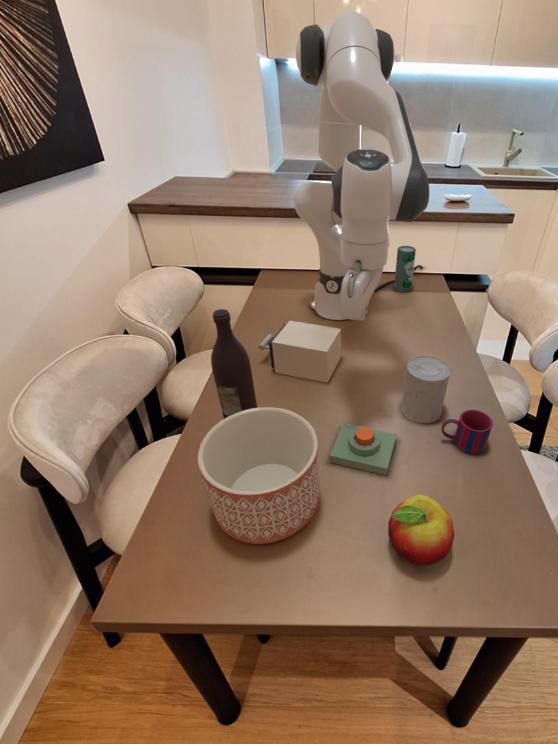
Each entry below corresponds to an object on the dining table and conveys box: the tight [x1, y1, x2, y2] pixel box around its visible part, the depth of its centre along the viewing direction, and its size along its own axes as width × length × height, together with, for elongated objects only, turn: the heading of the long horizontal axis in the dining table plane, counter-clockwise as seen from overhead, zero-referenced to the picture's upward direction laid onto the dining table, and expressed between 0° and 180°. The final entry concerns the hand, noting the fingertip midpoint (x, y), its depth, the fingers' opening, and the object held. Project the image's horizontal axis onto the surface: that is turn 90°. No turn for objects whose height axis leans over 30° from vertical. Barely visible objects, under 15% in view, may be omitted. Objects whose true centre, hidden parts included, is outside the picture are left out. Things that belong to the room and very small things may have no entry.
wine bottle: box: [210, 308, 258, 420], centre depth 78 cm, size 7×7×30 cm
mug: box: [441, 409, 494, 455], centre depth 85 cm, size 7×10×7 cm
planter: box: [197, 406, 321, 545], centre depth 70 cm, size 19×19×15 cm
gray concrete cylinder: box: [401, 355, 452, 424], centre depth 92 cm, size 10×10×12 cm
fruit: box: [387, 494, 455, 567], centre depth 65 cm, size 11×11×10 cm
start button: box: [356, 426, 373, 446], centre depth 82 cm, size 4×4×2 cm
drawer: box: [258, 323, 287, 369], centre depth 106 cm, size 18×10×8 cm, turn 74°
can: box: [393, 245, 417, 293], centre depth 144 cm, size 6×6×15 cm
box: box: [328, 422, 397, 476], centre depth 83 cm, size 10×12×4 cm
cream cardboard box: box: [272, 320, 342, 384], centre depth 106 cm, size 15×12×10 cm
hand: (361, 317), depth 83 cm, fingers closed
